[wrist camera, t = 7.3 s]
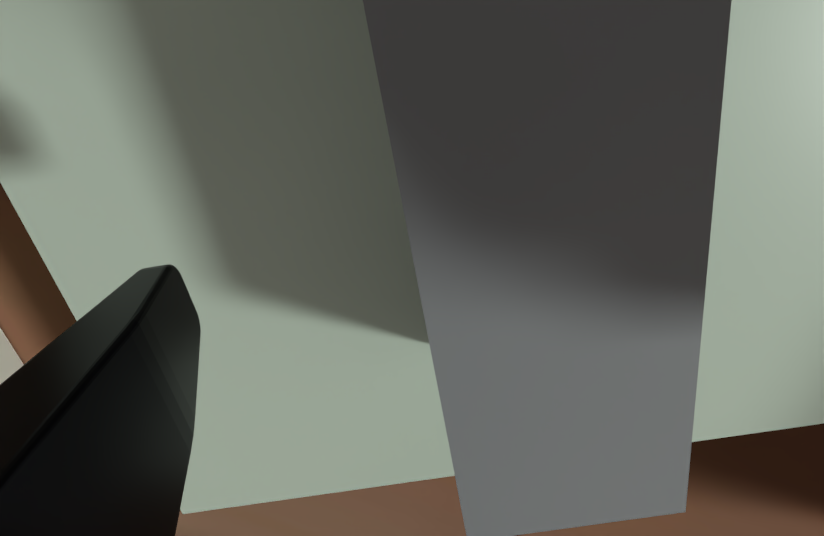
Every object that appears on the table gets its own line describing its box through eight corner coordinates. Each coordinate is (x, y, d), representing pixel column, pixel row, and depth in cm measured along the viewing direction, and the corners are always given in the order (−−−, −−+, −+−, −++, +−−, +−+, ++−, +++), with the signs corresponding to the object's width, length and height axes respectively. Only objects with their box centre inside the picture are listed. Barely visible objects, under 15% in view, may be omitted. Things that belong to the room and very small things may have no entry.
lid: (838, 315, 18) (1056, 596, 12) (206, 409, 19) (137, 712, 13) (1063, -668, 9) (2262, -1322, 3) (-168, -407, 10) (-906, -568, 4)
